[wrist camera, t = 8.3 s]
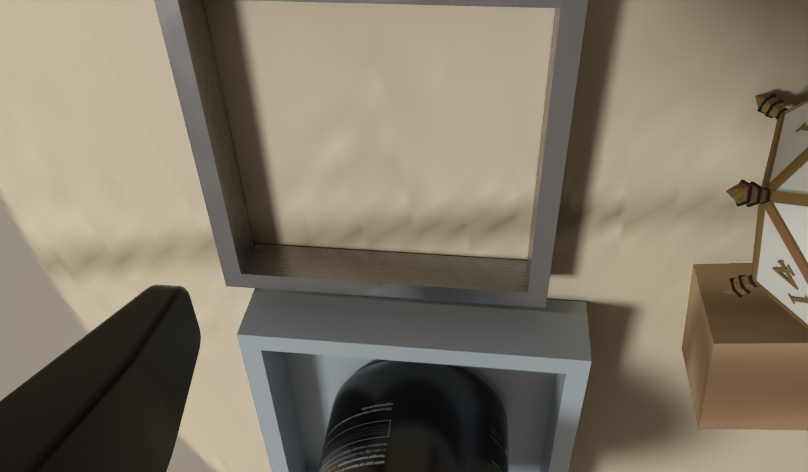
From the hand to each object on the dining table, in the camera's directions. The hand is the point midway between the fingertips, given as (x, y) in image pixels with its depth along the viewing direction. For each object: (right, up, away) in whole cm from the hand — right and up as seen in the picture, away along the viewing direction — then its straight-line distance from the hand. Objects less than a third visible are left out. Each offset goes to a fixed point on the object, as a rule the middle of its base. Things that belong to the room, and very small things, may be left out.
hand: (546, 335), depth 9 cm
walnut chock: (+11, -1, +15) cm, 19 cm away
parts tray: (-1, -5, +20) cm, 21 cm away
